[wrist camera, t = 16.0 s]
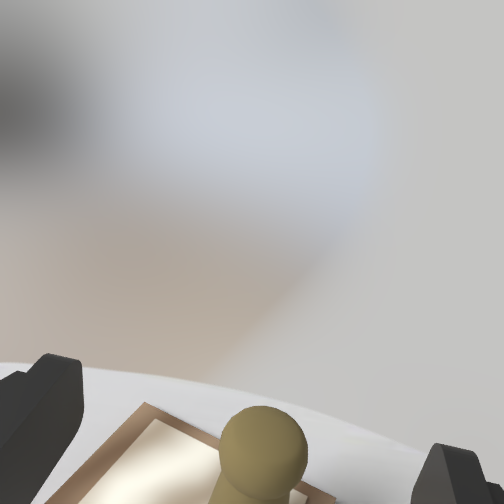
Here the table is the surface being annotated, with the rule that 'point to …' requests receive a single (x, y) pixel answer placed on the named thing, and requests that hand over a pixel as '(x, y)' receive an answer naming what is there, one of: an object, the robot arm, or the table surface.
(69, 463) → the table surface
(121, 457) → the brown picture frame
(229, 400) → the table surface
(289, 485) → the cork
